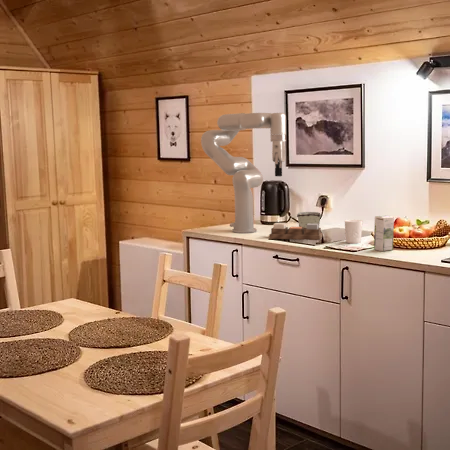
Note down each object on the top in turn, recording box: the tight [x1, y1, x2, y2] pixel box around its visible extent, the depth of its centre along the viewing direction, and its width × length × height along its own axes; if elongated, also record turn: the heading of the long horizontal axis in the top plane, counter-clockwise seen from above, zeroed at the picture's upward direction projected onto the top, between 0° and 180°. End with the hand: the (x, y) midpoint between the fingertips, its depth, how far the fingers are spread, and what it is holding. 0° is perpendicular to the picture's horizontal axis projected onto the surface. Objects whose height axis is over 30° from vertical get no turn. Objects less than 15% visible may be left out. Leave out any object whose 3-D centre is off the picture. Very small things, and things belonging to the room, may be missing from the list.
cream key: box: [273, 222, 287, 229], centre depth 333 cm, size 5×5×3 cm
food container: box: [296, 211, 322, 229], centre depth 349 cm, size 12×6×10 cm, turn 84°
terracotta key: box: [289, 226, 302, 229], centre depth 331 cm, size 5×5×3 cm
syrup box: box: [373, 215, 395, 252], centre depth 291 cm, size 6×6×14 cm
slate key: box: [307, 223, 320, 229], centre depth 328 cm, size 5×5×3 cm
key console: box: [268, 226, 323, 241], centre depth 331 cm, size 24×10×5 cm, turn 74°
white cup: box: [344, 219, 363, 244], centre depth 313 cm, size 8×8×10 cm
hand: (278, 176), depth 338 cm, fingers closed
